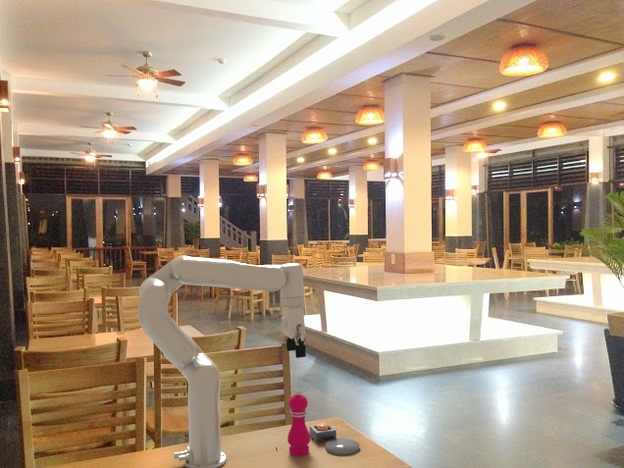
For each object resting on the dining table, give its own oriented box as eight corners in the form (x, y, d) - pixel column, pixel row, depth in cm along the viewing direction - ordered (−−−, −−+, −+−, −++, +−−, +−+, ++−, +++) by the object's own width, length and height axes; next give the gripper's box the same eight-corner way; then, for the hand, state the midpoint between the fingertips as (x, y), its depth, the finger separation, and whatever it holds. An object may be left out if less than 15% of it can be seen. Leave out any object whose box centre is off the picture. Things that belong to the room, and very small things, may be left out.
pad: (332, 457, 176) (332, 454, 176) (320, 444, 186) (320, 441, 186) (365, 451, 179) (365, 448, 179) (351, 439, 190) (351, 436, 190)
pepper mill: (311, 447, 183) (310, 386, 182) (309, 457, 176) (308, 393, 175) (289, 447, 184) (288, 386, 183) (286, 456, 177) (284, 393, 176)
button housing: (316, 443, 187) (316, 432, 186) (309, 435, 193) (309, 425, 193) (336, 440, 189) (336, 429, 189) (328, 432, 195) (328, 422, 195)
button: (319, 435, 188) (319, 428, 188) (315, 430, 192) (315, 423, 192) (330, 433, 190) (330, 426, 190) (326, 429, 194) (326, 422, 193)
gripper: (274, 299, 191) (278, 349, 191) (289, 306, 174) (293, 361, 175) (296, 296, 193) (299, 346, 194) (312, 304, 177) (315, 358, 177)
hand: (296, 353), depth 184 cm, fingers open, 9 cm apart
